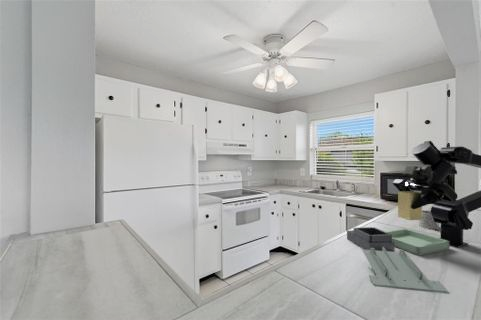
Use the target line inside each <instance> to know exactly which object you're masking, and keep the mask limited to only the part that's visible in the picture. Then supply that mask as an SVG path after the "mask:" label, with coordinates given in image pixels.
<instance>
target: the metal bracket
mask: <svg viewBox="0 0 481 320" xmlns="http://www.w3.org/2000/svg"><path fill="white" fill-rule="evenodd" d="M362 252H363V254H364V256H365V257H366V260H367V261H368V263H369V264H370V266H371V268H372V271H374V274H375V275H372V274H369V275H368V278H369V279H370V282H371V283H372V285H373V286H374V287H379V288H385V289H388V288H389V289H390V288H396V289H404V290H414V291H424V292H425V291H426V292H431V293H433V294H435V293H436V294H444V295H448V294H449V290H448V289H447V288H446V287H445V286H444V284H443V283H442V282H441V281H439V280H430V279H429V278H428V277H427V276H426V275H425V274H424V272H423V271H422V270H421V269H420V268H419V266H418V265H417V264H416V263H415V262H414V260H413V259H412V258H411V257H410V255H408V253H406V252H405V250H402V249H399V252H398V251H394V252H390V251H386V250H385V248H384V247H382V251H376V250H375V249H374V248H370V250H365V249H362Z"/></svg>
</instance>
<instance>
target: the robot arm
mask: <svg viewBox="0 0 481 320" xmlns="http://www.w3.org/2000/svg"><path fill="white" fill-rule="evenodd" d="M411 154H412V155H413V156H414V157H415V158H416V159H417V160H418V161H419V163H421V165H422V166H417V165H415V166H413V165H406V166H405V168H404V171H403V172H402V175H404V176H406V177H409V178H410V181H411V182H412V183H410V182H409V181H408V180H407V179H401V178H400V179H399V178H395V179H394V181H393V182H392V185H393V186H394V187H395V188H396V189H397V190H398V191H412V192H418V193H421V194H420V196H419V197H418V198H417V200H416V201H415V202H414V203H413V205H412V208H413V209H417V208H420V207H422V208H423V207H424V206H425V207H426V206H427V205H428V206H429V205H431V204H432V206H431V207H430V211H431V214H432V217H433V220H434V222H437V223H439V224H440V237H439V238H440V239H443V240H447V241H450V245H449V246H453V247H456V248H457V247H458V248H460V247H465V246H469V245H470V244H469V242H465V241H464V230H466V231H468V230H471V229H472V228H473V225H474V223H473V221H472V220H471V219H470V218H469V213H471V212H473V211H475V210H479V209H481V190H477V191H476V192H474V193H471V194H469V195H467V196H464V197H462V198H459V199H458V193H456V191H455V190H454V189H453V188H452V187H451V186H450V184H449V183H446V182H445V181H444V180H445V179H446V178H447V176H448V175H457V174H458V171H457V169H456V166H453V164H456V165H457V164H459V165H460V164H461V165H467V166H470V167H474V168H479V169H481V155H480V154H477V153H474V152H473V150H471V149H470V148H467V147H465V146H447V147H446V146H445V147H441V148H440V149H438V148H437V147H436V146H435V144H434V143H433V141H431V140H427V141H424V142H423V143H421V144H418V145H416V146H414V147H413V148H412V149H411Z"/></svg>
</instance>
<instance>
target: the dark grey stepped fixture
mask: <svg viewBox="0 0 481 320" xmlns="http://www.w3.org/2000/svg"><path fill="white" fill-rule="evenodd" d="M346 239H347V240H348V241H350V242H351V243H353V244H354V245H357V246H358V247H360V248H361V249H362V250H370V248H374V249H375V250H376V251H382V247H384V248H385V250H386V251H390V252H395V247H394V242H393V241H392V235H391V234H389V233H387V232H385V231H383V230H381V229H380V228H377V227H372V226H370V227H369V226H368V227H354V228H353V230H347V231H346Z"/></svg>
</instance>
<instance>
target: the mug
mask: <svg viewBox="0 0 481 320" xmlns="http://www.w3.org/2000/svg"><path fill="white" fill-rule="evenodd" d="M420 226H421V227H420ZM418 227H420V228H422V227H423V228H422V229H426V228H429V229H428V230H431V229H439V230H440V223H437V222H434V220H433V217H432V214H431V210H424V209H422V220H418Z"/></svg>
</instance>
